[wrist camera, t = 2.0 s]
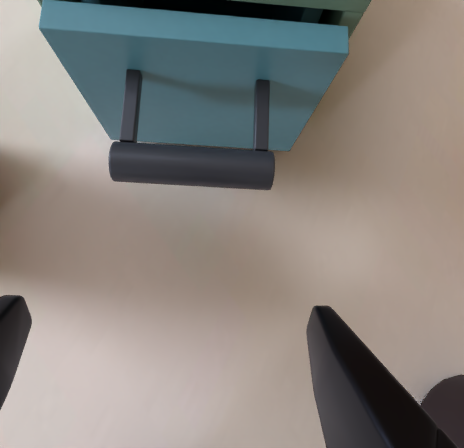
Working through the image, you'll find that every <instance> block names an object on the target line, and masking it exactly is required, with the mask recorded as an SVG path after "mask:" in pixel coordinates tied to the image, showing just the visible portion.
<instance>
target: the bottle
mask: <svg viewBox="0 0 464 448" xmlns="http://www.w3.org/2000/svg"><path fill="white" fill-rule="evenodd" d="M421 407H422V408H423V409H424V410H425V412H426V413H427V414H428V415H429V416H430V417H431V418H432V419H433V420H434V422H435V423H436V424H437V426H438V428H441V429H442V430H443V431H444V432H445V434H446V435H447V436H448V437H449V438H450V439H451V440H452V441H453V442H454V443H455V445H456V446H457V447H458V448H464V375H457V376H454V377H451V378H448V379H444V380H443V381H441V382H440V383H439V384H437V385H436V386H435V387H434V388H432V389H431V390H430V392H429V393H428V395H427V396H426V398H425V399H424V401H423V402H422V404H421Z"/></svg>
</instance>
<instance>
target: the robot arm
mask: <svg viewBox="0 0 464 448" xmlns="http://www.w3.org/2000/svg"><path fill="white" fill-rule="evenodd" d="M31 324H32V319H31V315H30V313H29V310H28V307H27V304H26V302H25V299H24V298H23V297H22V296H20V295H4V296H2V297H0V410H1V407H2V405H3V403H4V401H5V399H6V396H7V394H8V392H9V389H10V387H11V384H12V382H13V379H14V376H15V373H16V370H17V367H18V364H19V361H20V358H21V355H22V352H23V349H24V346H25V343H26V340H27V337H28V334H29V331H30V328H31ZM307 341H308V350H309V358H310V366H311V374H312V383H313V390H314V395H315V400H316V405H317V409H318V413H319V418H320V422H321V426H322V430H323V435H324V439H325V443H326V447H327V448H458V447H457V446H456V445H455V443H454V442H453V441H452V440H451V439H450V438H449V437H448V436H447V435H446V434H445V432H444V431H443V430H442V429H441V428H438V426H437V424H436V423H435V422H434V420H433V419H432V418H431V417H430V416H429V415H428V414H427V413H426V412H425V410H424V409H423V408H422V407H421V406H420V405H419V404H418V403H417V402H416V401H415V399H414V398H413V397H412V396H411V395H410V394H409V393H408V392H407V391H406V389H405V388H404V387H403V386H402V385H401V384H400V383H399V382H398V381H397V380H396V378H395V377H394V376H393V375H392V374H391V373H390V372H389V371H388V370H387V368H386V367H385V366H384V365H383V364H382V363H381V362H380V361H379V360H378V359H377V357H376V356H375V355H374V354H373V353H372V352H371V351H370V350H369V349H368V347H367V346H366V345H365V344H364V343H363V342H362V341H361V340H360V339H359V338H358V336H357V335H356V334H355V333H354V332H353V331H352V330H351V329H350V328H349V326H348V325H347V324H346V323H345V322H344V321H343V320H342V319H341V318H340V317H339V315H338V314H337V313H336V312H335V311H334V310H333V309H332V308H331V307H329V306H317V305H316V306H314V307H313V309H312V312H311V315H310V318H309V321H308V325H307Z"/></svg>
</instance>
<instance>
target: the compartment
mask: <svg viewBox="0 0 464 448" xmlns="http://www.w3.org/2000/svg"><path fill="white" fill-rule="evenodd" d="M81 2H82V3H79V2H68V1H56V0H43V3H42V9H41V16H40V22H39V29H40V31H41V32H42V34H43V35H44V37H45V38H46V40H47V41H48V43H49V45H50V46H51V48H52V49H53V51H54V52H55V54H56V55H57V57H58V58H59V60H60V62H61V63H62V65H63V66H64V68H65V69H66V71H67V72H68V74H69V75H70V77H71V79H72V80H73V82H74V83H75V85H76V86H77V88H78V89H79V91H80V92H81V94H82V96H83V97H84V99H85V100H86V102H87V103H88V105H89V106H90V108H91V110H92V111H93V113H94V114H95V116H96V117H97V119H98V120H99V122H100V123H101V125H102V127H103V128H104V130H105V131H106V133H107V134H108V136H109V137H110V139H112V140H120V142H113V143H112V145H111V148H110V152H109V172H110V176H111V178H112V180H113V181H117V182H134V183H151V184H168V185H186V186H203V187H220V188H237V189H255V190H270V189H271V187H272V185H273V181H274V173H275V157H274V153H273V152H269V151H268V150H281V151H290V149H291V147H292V146H293V144H294V143H295V141H296V139H297V138H298V136H299V134H300V133H301V131H302V129H303V128H304V126H305V125H306V123H307V121H308V120H309V118H310V116H311V115H312V113H313V111H314V110H315V108H316V107H317V105H318V103H319V102H320V100H321V98H322V97H323V95H324V93H325V92H326V90H327V89H328V87H329V85H330V84H331V82H332V80H333V79H334V77H335V75H336V74H337V72H338V71H339V69H340V67H341V66H342V64H343V62H344V61H345V59H346V57H347V56H348V54H349V42H348V26H338V25H327V24H318V21H319V19H320V17H321V14H322V12H323V10H324V9H318V8H307V7H296V6H285V5H274V4H263V3H252V2H241V1H231V0H81ZM137 141H143V142H158V143H174V144H189V145H204V146H220V147H235V148H250V149H253V150H239V149H223V148H208V147H192V146H177V145H162V144H146V143H137Z"/></svg>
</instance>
